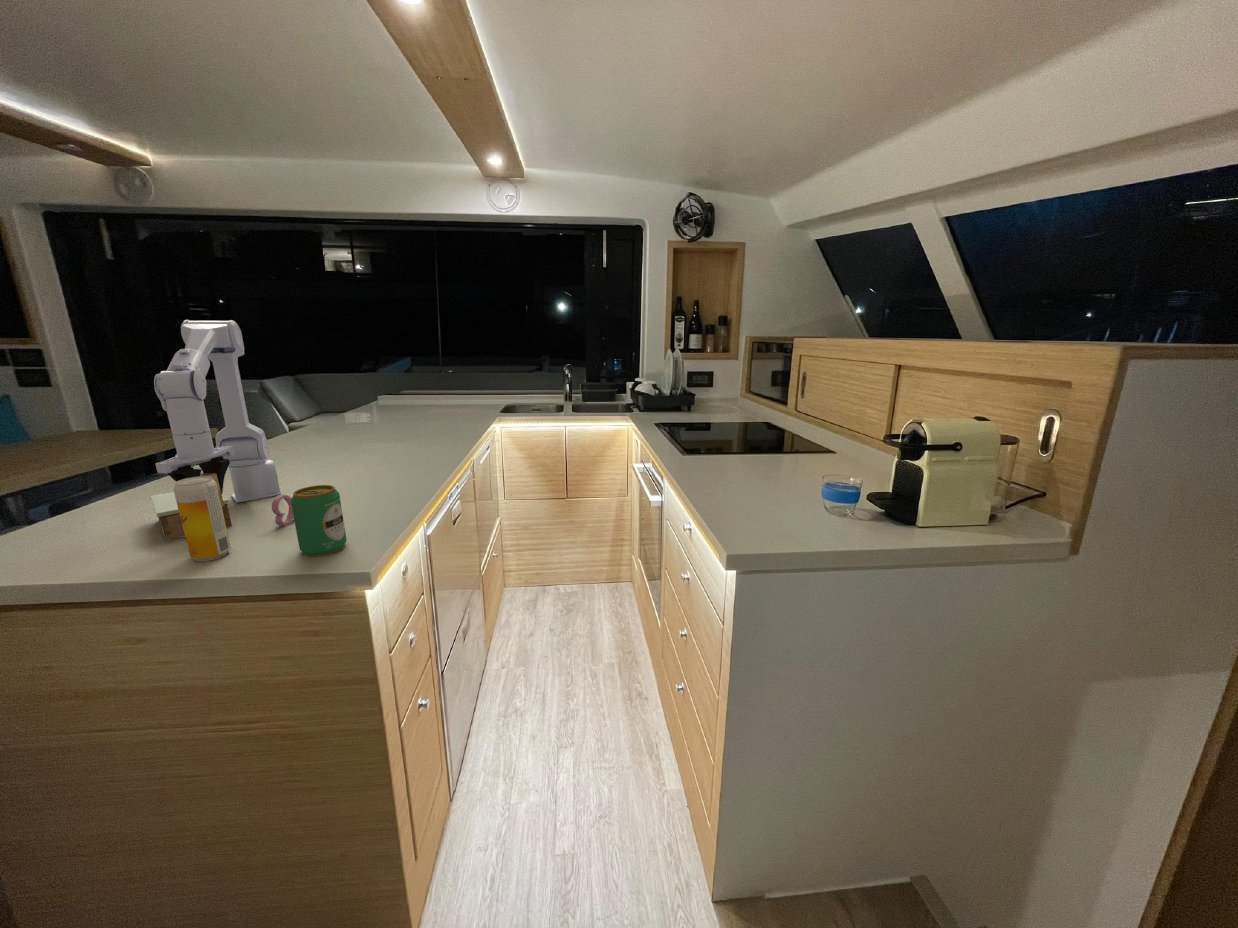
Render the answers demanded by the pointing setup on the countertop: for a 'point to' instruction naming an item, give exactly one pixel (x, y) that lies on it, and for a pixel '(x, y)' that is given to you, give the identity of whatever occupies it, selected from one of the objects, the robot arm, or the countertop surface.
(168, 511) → the lid
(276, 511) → the decorative key
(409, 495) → the countertop surface
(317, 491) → the beverage can
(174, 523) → the wooden box
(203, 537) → the beer can
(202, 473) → the oak key block
